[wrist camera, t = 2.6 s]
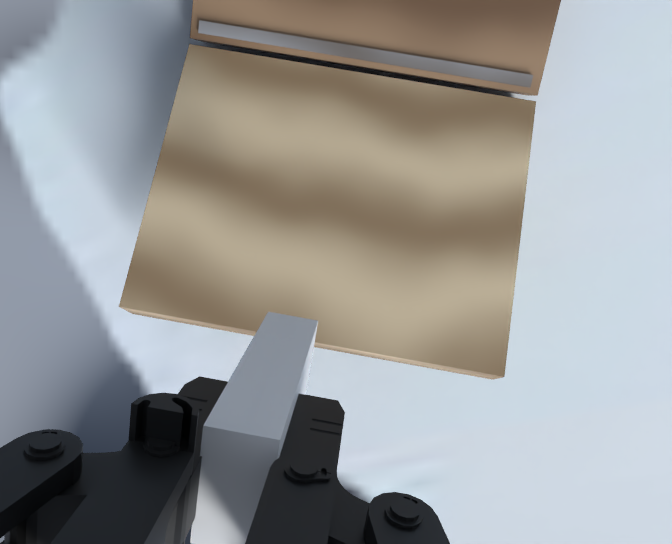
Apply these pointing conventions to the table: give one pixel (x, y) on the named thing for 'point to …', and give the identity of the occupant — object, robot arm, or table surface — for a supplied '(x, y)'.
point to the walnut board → (395, 35)
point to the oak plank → (337, 210)
